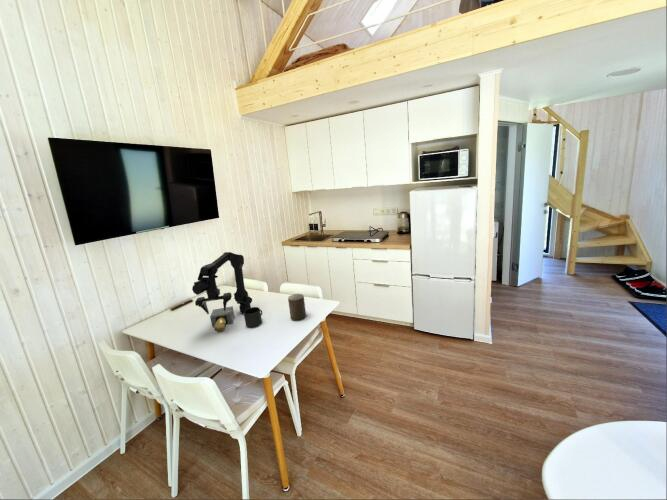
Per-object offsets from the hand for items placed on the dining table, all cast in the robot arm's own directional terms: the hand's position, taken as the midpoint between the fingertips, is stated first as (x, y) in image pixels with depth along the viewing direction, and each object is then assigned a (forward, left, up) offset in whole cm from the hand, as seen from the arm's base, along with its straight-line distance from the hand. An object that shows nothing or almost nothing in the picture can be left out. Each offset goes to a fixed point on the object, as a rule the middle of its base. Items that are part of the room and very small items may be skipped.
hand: (216, 312), depth 158 cm
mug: (-20, -1, -12) cm, 24 cm away
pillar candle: (-46, +2, -12) cm, 48 cm away
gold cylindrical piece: (0, -4, -12) cm, 12 cm away
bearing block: (0, -11, -12) cm, 16 cm away
